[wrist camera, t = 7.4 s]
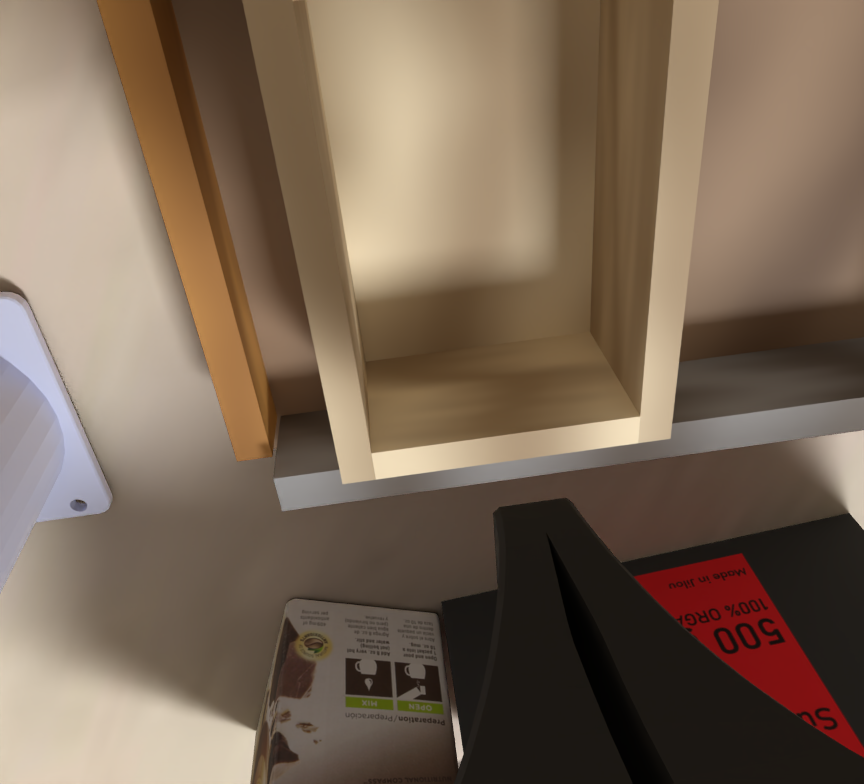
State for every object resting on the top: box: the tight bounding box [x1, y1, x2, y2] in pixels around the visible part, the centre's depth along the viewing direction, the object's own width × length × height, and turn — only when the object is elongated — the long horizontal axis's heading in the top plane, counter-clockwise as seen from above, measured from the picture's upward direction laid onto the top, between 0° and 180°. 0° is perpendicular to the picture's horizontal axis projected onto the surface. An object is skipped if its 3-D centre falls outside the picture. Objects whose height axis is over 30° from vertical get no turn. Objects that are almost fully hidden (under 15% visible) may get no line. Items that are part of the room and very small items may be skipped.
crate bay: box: [97, 0, 864, 511], centre depth 18 cm, size 22×16×6 cm
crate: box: [242, 0, 719, 484], centre depth 17 cm, size 8×11×5 cm
